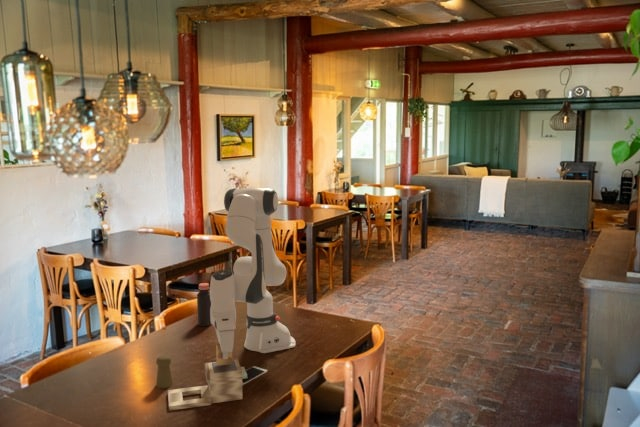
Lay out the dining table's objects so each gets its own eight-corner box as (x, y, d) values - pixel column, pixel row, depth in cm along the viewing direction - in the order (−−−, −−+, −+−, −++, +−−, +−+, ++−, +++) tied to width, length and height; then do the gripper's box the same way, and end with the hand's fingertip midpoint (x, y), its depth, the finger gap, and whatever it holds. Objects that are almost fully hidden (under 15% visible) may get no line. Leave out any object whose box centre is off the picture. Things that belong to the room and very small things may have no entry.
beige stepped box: (237, 385, 204) (237, 357, 202) (243, 400, 192) (242, 371, 190) (168, 394, 196) (166, 365, 195) (169, 410, 185) (167, 380, 183)
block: (230, 358, 197) (230, 342, 197) (232, 363, 193) (232, 347, 192) (216, 359, 196) (216, 343, 195) (217, 365, 191) (217, 349, 190)
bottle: (200, 321, 270) (199, 282, 267) (214, 322, 269) (213, 282, 266) (195, 326, 263) (194, 285, 260) (209, 327, 262) (208, 286, 259)
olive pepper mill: (174, 380, 207) (173, 353, 205) (171, 388, 201) (169, 359, 199) (158, 380, 207) (157, 353, 205) (154, 388, 201) (153, 360, 199)
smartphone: (268, 370, 215) (242, 384, 203) (268, 371, 216) (242, 386, 203) (253, 365, 220) (227, 379, 208) (253, 367, 220) (227, 381, 208)
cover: (244, 369, 201) (243, 358, 200) (247, 378, 194) (247, 367, 193) (205, 373, 197) (204, 363, 196) (207, 383, 190) (206, 372, 189)
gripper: (211, 308, 201) (212, 344, 203) (217, 328, 181) (218, 367, 184) (228, 307, 203) (229, 342, 205) (236, 326, 183) (237, 365, 185)
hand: (224, 354), depth 194 cm, fingers closed on block, 5 cm apart
